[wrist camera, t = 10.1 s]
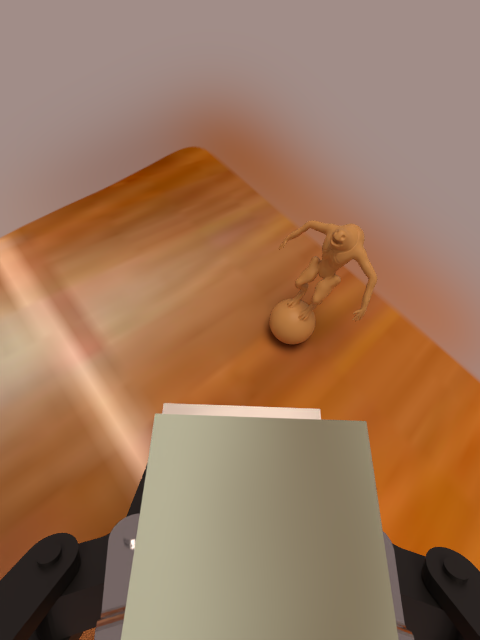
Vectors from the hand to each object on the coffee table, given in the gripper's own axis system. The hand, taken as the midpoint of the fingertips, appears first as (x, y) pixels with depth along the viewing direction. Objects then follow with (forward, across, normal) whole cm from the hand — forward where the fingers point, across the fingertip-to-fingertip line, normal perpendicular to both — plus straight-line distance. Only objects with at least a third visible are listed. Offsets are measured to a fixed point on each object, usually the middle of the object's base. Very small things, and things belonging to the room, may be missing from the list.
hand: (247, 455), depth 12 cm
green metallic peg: (+2, 0, +5) cm, 6 cm away
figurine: (+18, -5, 0) cm, 18 cm away
